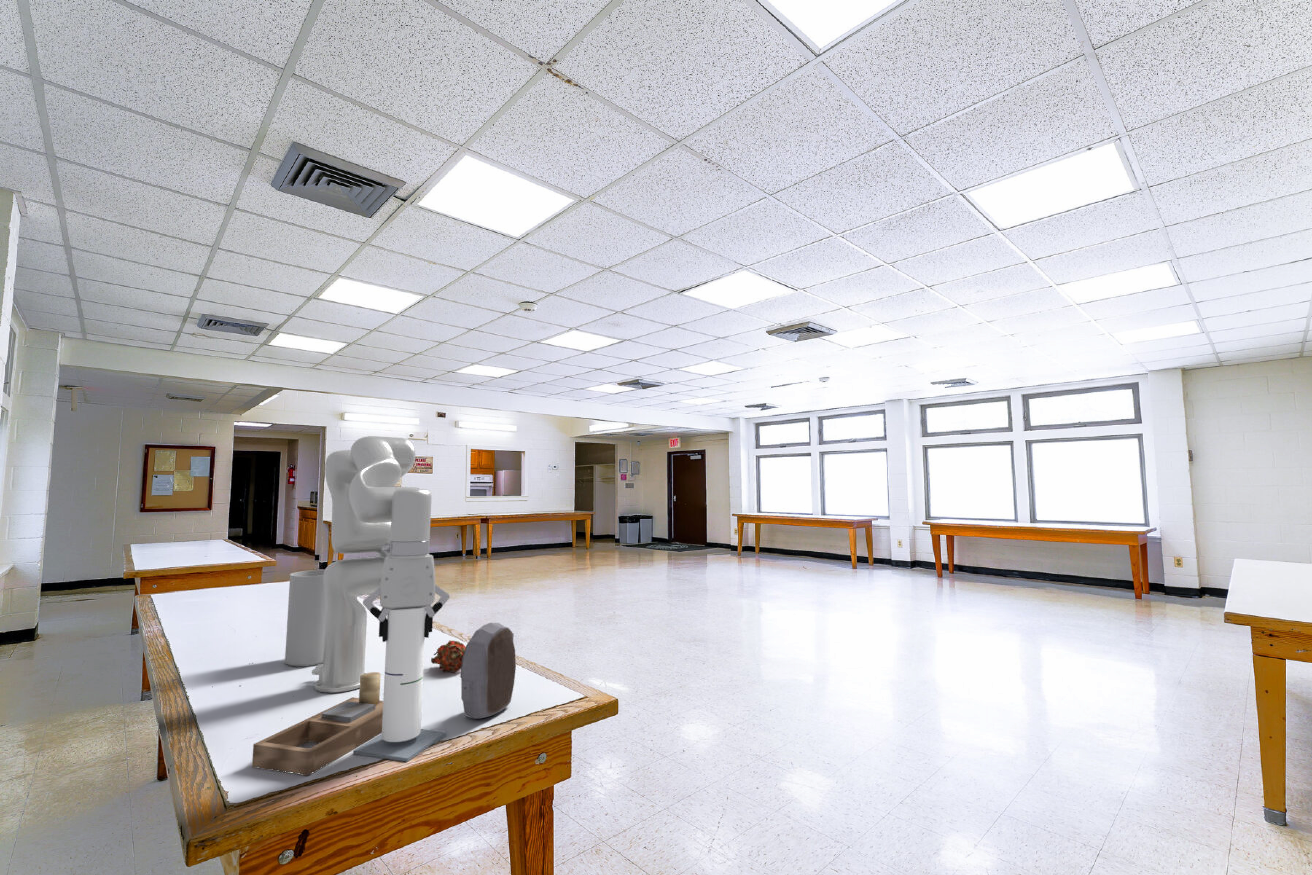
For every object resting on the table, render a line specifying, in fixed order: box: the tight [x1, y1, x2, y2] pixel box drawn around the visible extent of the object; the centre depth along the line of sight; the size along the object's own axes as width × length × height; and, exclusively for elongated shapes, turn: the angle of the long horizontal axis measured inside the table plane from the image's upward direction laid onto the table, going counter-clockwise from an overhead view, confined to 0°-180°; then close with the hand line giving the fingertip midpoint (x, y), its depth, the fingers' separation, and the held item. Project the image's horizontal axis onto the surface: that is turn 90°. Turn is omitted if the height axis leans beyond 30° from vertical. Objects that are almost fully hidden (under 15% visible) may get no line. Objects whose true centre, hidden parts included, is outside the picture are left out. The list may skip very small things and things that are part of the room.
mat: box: [352, 728, 447, 762], centre depth 116 cm, size 12×12×1 cm
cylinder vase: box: [284, 569, 326, 668], centre depth 169 cm, size 12×12×25 cm
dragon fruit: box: [430, 640, 466, 673], centre depth 162 cm, size 8×8×12 cm
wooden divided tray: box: [251, 671, 383, 776], centre depth 116 cm, size 12×24×10 cm, turn 166°
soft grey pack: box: [459, 622, 517, 719], centre depth 133 cm, size 15×8×20 cm, turn 160°
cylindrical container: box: [381, 606, 426, 742], centre depth 117 cm, size 7×7×25 cm
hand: (405, 637), depth 117 cm, fingers closed on cylindrical container, 7 cm apart
